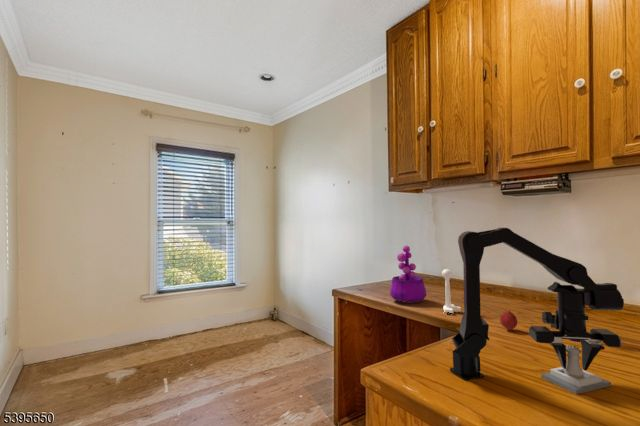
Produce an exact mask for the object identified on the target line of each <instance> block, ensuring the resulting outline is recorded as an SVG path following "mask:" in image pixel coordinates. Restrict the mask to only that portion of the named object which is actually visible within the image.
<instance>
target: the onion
mask: <svg viewBox="0 0 640 426" xmlns="http://www.w3.org/2000/svg"><path fill="white" fill-rule="evenodd" d="M499 322H500V324H501V326H502V327H504V328H505V329H506V331H512V330H514V329H515V328H516V327H517V325H518V317H516V316H515V314H514V313H513V312H511V311H510V309H506V310H505V312H503V313H502V314H501V315H500V317H499Z"/></svg>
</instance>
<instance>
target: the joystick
mask: <svg viewBox="0 0 640 426" xmlns="http://www.w3.org/2000/svg"><path fill="white" fill-rule="evenodd" d="M441 276H442V278H444V281H445V282H444V283H445V286H444V287H445V288H444V289H445V291H444V292H445V304H444V305H443V306H442V307H443V310H444V312H449V313H448V314H450V313H453V311H461V312H462V307H460V306H456V305H455V304H453V303H452V299H451V285H450V283H451V282H450V280H451V277H452V276H453V272H452V270H451V269H449V268H444V269H443V270H442V271H441ZM444 312H443V313H444ZM453 314H454V313H453Z"/></svg>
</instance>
